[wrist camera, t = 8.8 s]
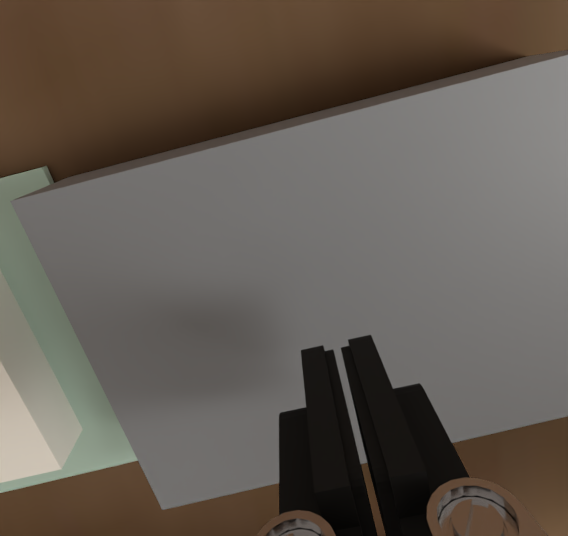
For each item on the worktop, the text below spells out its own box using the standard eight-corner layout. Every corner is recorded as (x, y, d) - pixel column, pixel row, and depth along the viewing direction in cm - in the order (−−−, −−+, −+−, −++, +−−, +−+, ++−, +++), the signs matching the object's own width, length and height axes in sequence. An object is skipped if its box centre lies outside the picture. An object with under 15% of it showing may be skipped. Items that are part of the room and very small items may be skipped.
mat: (46, 165, 14) (42, 167, 13) (172, 447, 18) (170, 452, 18) (-202, 231, 14) (-211, 234, 14) (-19, 492, 18) (-23, 498, 18)
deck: (528, 56, 13) (616, 42, 10) (537, 350, 17) (601, 408, 14) (68, 177, 14) (10, 201, 11) (179, 435, 18) (162, 510, 15)
